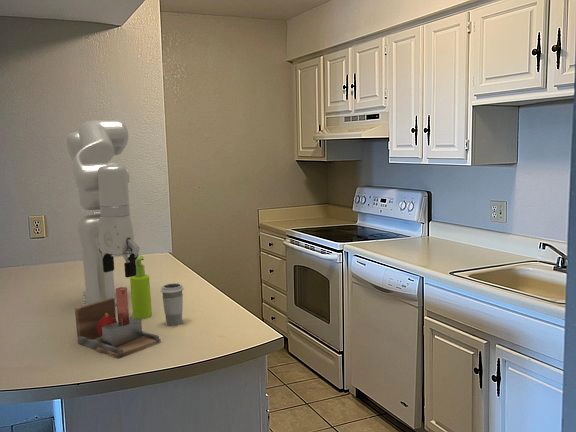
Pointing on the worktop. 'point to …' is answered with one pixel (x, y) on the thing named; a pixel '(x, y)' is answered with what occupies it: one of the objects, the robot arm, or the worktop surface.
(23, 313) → the worktop surface
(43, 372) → the worktop surface
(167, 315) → the cup
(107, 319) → the onion
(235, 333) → the worktop surface
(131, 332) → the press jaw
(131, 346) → the frame
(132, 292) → the soap dispenser
